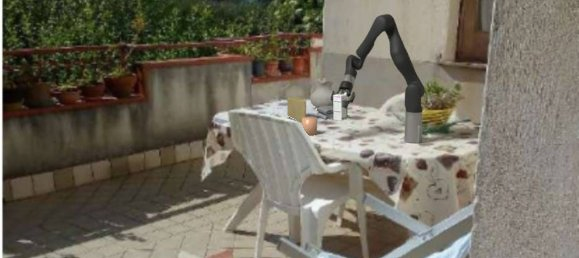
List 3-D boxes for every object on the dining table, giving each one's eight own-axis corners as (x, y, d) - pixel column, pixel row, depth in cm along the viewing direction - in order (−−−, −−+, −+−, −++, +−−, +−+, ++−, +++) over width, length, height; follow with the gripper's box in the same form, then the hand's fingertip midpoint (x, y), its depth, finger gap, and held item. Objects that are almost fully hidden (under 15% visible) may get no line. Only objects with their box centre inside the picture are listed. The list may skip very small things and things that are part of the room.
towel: (315, 117, 403) (315, 105, 401) (338, 115, 410) (338, 104, 408) (325, 120, 389) (325, 109, 388) (349, 118, 396) (349, 107, 395)
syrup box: (341, 120, 326) (341, 95, 323) (333, 119, 330) (333, 94, 327) (347, 119, 330) (347, 94, 327) (339, 118, 334) (339, 93, 331)
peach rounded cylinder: (319, 133, 347) (319, 117, 345) (313, 136, 339) (313, 119, 337) (305, 132, 351) (306, 116, 349) (299, 134, 343) (299, 118, 341)
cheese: (311, 123, 379) (312, 100, 376) (297, 124, 376) (298, 101, 373) (300, 117, 400) (300, 95, 397) (287, 118, 397) (287, 96, 394)
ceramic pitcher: (308, 108, 441) (306, 76, 436) (333, 106, 443) (332, 74, 438) (313, 113, 420) (310, 79, 415) (339, 111, 422) (337, 77, 417)
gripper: (334, 79, 336) (325, 102, 328) (357, 80, 329) (349, 104, 321) (337, 87, 341) (329, 110, 333) (360, 88, 335) (352, 111, 327)
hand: (339, 107), depth 327 cm, fingers closed on syrup box, 7 cm apart
